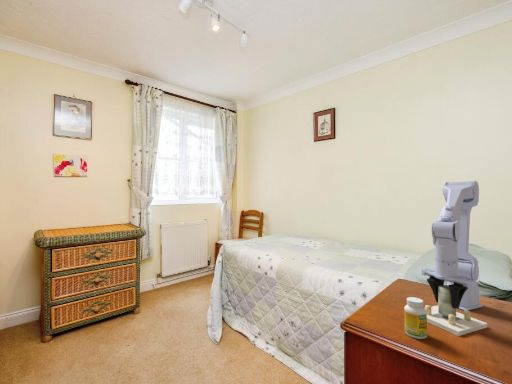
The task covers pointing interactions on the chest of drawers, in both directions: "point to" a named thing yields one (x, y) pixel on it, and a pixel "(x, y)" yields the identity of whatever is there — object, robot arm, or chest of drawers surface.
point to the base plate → (454, 321)
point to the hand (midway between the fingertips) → (447, 304)
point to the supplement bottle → (415, 318)
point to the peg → (445, 301)
